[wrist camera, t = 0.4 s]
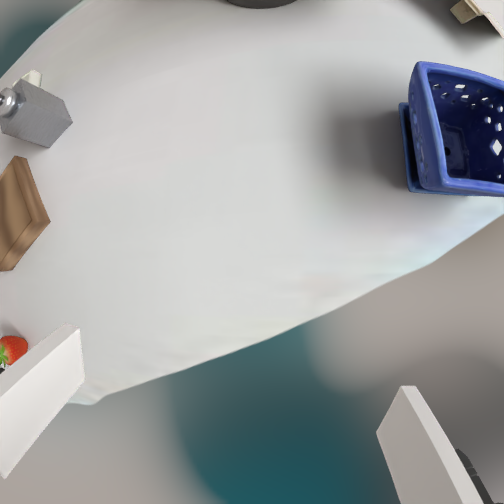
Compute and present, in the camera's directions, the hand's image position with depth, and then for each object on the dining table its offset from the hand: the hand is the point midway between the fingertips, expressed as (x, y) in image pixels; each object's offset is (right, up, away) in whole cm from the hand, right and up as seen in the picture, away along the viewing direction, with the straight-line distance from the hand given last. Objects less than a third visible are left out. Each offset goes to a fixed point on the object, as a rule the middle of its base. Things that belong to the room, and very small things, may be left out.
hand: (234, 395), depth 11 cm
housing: (-32, +26, +29) cm, 50 cm away
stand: (-40, +12, +30) cm, 52 cm away
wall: (+38, +47, +19) cm, 63 cm away
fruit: (-40, -11, +32) cm, 53 cm away
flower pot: (+24, +18, +22) cm, 37 cm away
